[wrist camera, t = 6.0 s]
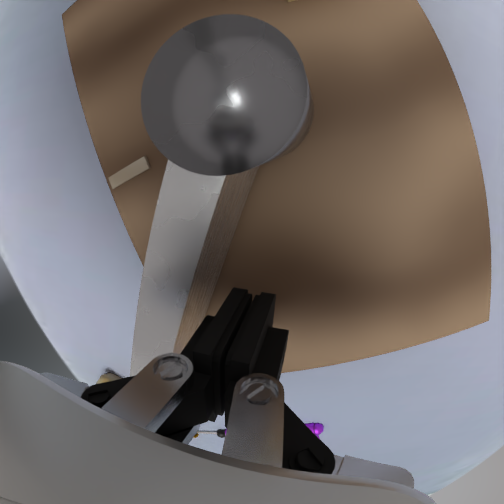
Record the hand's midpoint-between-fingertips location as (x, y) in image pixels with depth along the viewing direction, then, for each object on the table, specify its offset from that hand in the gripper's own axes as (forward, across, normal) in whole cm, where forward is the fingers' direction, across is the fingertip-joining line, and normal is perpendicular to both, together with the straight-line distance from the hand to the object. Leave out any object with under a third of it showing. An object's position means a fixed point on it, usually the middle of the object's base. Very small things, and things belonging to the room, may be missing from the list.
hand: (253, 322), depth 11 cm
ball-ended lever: (+1, +2, -3) cm, 4 cm away
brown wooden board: (+4, +1, -8) cm, 9 cm away
